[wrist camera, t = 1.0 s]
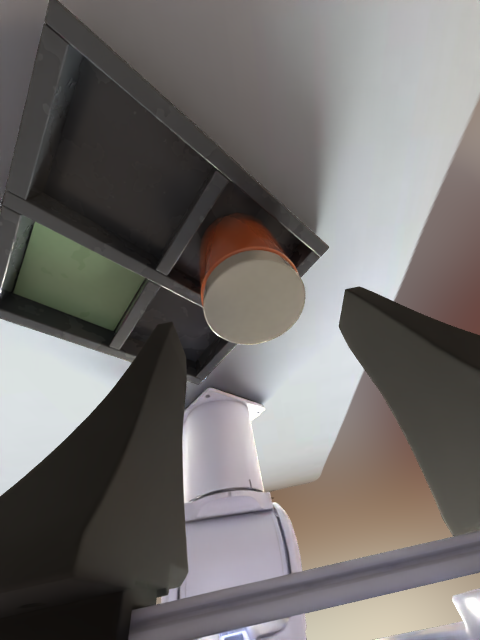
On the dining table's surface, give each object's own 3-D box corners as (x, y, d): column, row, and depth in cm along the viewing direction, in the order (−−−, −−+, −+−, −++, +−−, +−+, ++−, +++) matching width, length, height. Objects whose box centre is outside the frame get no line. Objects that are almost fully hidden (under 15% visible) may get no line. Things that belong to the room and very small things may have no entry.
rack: (198, 366, 23) (198, 385, 22) (-1, 291, 16) (-24, 311, 14) (316, 235, 17) (330, 247, 15) (74, 16, 10) (49, -7, 8)
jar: (242, 295, 19) (260, 358, 14) (184, 261, 16) (179, 321, 11) (288, 242, 17) (329, 293, 12) (228, 194, 14) (247, 231, 9)
